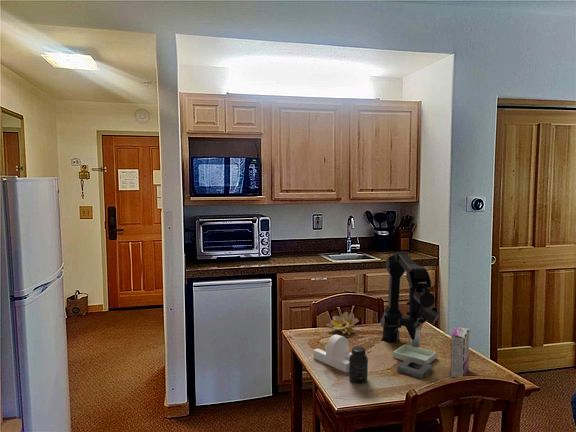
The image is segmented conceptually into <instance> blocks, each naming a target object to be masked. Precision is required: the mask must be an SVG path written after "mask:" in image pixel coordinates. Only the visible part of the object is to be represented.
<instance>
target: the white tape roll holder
mask: <svg viewBox="0 0 576 432" xmlns="http://www.w3.org/2000/svg"><path fill="white" fill-rule="evenodd" d="M349 350H350V343H349V341H348V339H347V338H346V337H345V336H343V335H339V334H334V335H331V336H330V337H329V339H328V341H327V342H326V345H325V350H323V349H321V348H315V349H313V359H315V360H317V361H320V362H321V363H324V364H326V365H327V366H330V367H332V368H334V369H337V370H339V371H342V372H344V373H345V374H347V373H349V357H350V355H351V354H352V351H351V352H349Z"/></svg>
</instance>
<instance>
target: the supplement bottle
mask: <svg viewBox="0 0 576 432" xmlns="http://www.w3.org/2000/svg"><path fill="white" fill-rule="evenodd" d="M351 348H352V349H351V353H352V354H351V355H350V357H349V372H348V379H349V381H350V382H351V383H354V384H356V385H357V384H359V385H360V384H361V385H363V384H365V383H366V382H367V381H368V377H369V376H368V375H369V374H368V372H369V368H368V366H369V365H368V364H369V363H368V362H369V360H368V358H369V357H367V355H366V348H365V347H363V346H358V345H356V346H353V347H351Z"/></svg>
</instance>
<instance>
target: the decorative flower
mask: <svg viewBox="0 0 576 432" xmlns="http://www.w3.org/2000/svg"><path fill="white" fill-rule="evenodd" d="M348 313H349V312H347V311H344V312H343V313H342V314H341V316H340V315H333V316H332V319H331V320H330V323H327V324H326V326H328V327H330V328H333V329H335V330H337V331H339V332H341V333H343V334H345V333H346V332H347V333H350V334H349V335H351V334H352V333H356V332H357V330H356V329H355V328H353V326H354V325H355V324H357V323H358V322H359V321H360V320H359V319H358V318H357V317H355V314H354V313H353V312H350V313H349V314H348ZM347 333H346V334H347Z"/></svg>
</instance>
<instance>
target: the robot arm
mask: <svg viewBox="0 0 576 432" xmlns="http://www.w3.org/2000/svg"><path fill="white" fill-rule="evenodd" d="M385 268H386V271H387V274H388V275H389V280H388V283H389V284H388V285H389V286H388V299H387V300H388V301H387V306H386V307H385V309H383V315H382V317H381V318H380V322H379V323H380V326H381V327H382V337H381V339H380V340H381V341H385V342H389V343H392V344H394V343H396V342H397V341H399V340H400V339H401V338H400V330H399V329H402V327H405V328H406V330H407V332H408V335H409V337H411V339H412V340H414V339H415V335H416V329H417V327H418V326H420V324H418V321H421V322H422V326H421V327H420V332H421V330H422V329H423V328H422V327H423V325H424V323H426V322H428V323H430V324H434V323H435V322H436V321H438V317H440V311H439V307H438V306H434V307H433V305H434V304H435V302H436V297H435V296H434V294H433V293H432V292H431V289H430V288H432V279H431V277H430V274H429V271H428V270H427V268H425V267H424V266H422V265H418V264H417V263H416V262H415V261H414V260H413V259H412V258H411V257H410V256H409V253H408V252H406V251H397V252H395V253H394V254H393V255H390V256H388V258H386V260H385ZM405 272H406V276H405V278H406V279H407V283H408V284H407V285H408V286H409V287H408V288H409V289H408V301H406V305H407V306H408V311H406V315H403V313H402V312H401V310H400V308H399V306H400V305H399V304H400V291H401V290H400V289H401V288H400V287H401V278H402V276H403V275H404V273H405Z"/></svg>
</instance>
